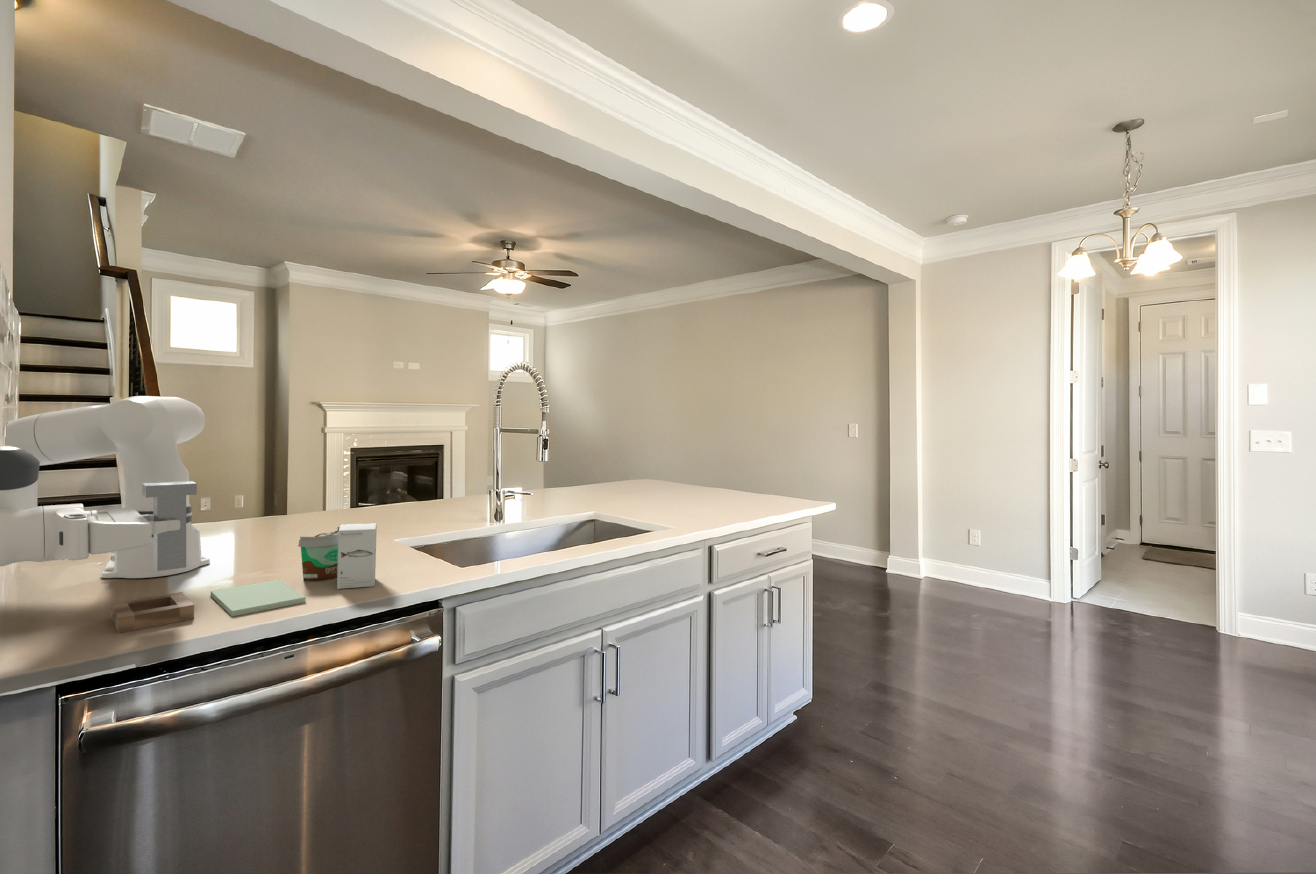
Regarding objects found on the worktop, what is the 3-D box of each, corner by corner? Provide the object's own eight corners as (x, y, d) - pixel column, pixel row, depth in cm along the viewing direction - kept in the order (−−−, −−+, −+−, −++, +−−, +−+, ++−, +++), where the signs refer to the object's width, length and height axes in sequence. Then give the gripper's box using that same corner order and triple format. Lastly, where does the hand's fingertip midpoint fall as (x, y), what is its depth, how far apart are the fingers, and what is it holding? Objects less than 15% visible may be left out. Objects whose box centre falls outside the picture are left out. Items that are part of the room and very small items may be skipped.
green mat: (210, 595, 120) (210, 590, 120) (279, 584, 129) (279, 579, 128) (232, 616, 109) (232, 611, 109) (305, 602, 118) (305, 597, 118)
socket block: (110, 617, 107) (110, 603, 106) (182, 605, 114) (182, 591, 114) (118, 632, 100) (118, 618, 100) (194, 618, 107) (193, 604, 107)
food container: (322, 585, 129) (323, 539, 128) (298, 583, 130) (298, 537, 129) (362, 570, 141) (362, 528, 140) (339, 568, 142) (339, 526, 141)
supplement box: (336, 590, 126) (336, 530, 125) (339, 580, 133) (339, 523, 132) (375, 587, 129) (376, 528, 128) (376, 577, 136) (377, 522, 135)
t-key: (142, 568, 107) (142, 483, 106) (191, 561, 112) (192, 481, 111) (146, 572, 104) (146, 486, 103) (196, 566, 109) (196, 483, 108)
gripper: (64, 539, 105) (165, 529, 115) (73, 563, 91) (188, 549, 101) (64, 503, 105) (165, 497, 115) (73, 521, 91) (188, 512, 101)
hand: (176, 521), depth 108 cm, fingers closed on t-key, 4 cm apart
